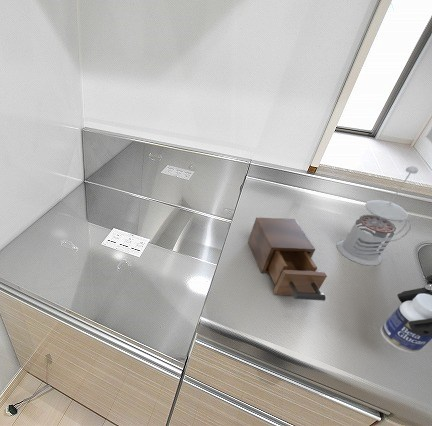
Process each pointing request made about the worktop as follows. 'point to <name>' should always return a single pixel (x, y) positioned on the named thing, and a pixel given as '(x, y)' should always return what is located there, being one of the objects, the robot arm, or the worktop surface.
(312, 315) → the worktop surface
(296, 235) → the cabinet
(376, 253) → the french press
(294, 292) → the drawer
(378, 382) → the worktop surface
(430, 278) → the robot arm
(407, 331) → the pill bottle
